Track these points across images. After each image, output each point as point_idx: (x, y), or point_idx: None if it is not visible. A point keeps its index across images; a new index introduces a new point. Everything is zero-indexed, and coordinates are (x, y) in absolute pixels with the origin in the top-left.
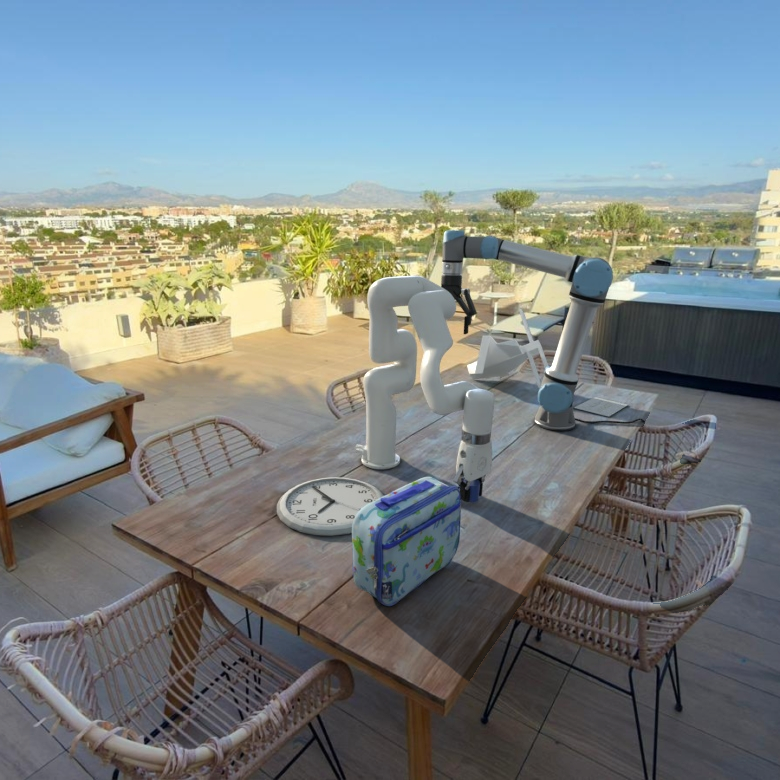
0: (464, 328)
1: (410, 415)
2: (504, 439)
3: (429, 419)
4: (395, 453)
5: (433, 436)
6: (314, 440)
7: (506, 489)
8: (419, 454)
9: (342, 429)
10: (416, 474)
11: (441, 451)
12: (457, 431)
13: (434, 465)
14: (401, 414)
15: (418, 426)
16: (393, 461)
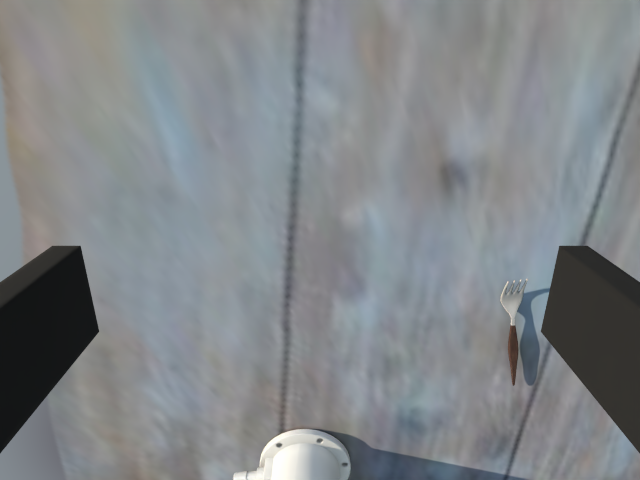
0: (590, 379)
1: (185, 147)
2: (569, 187)
3: (268, 147)
4: (321, 437)
5: (350, 279)
6: (95, 446)
7: (603, 445)
8: (367, 395)
9: (94, 363)
10: (404, 472)
11: (411, 356)
12: (403, 203)
13: (424, 425)
14: (151, 156)
15: (269, 230)
16: (339, 469)
